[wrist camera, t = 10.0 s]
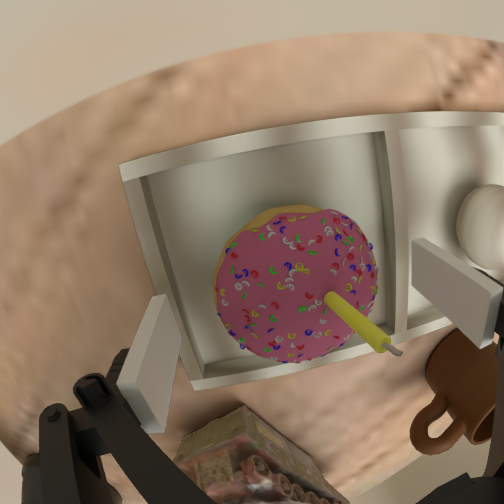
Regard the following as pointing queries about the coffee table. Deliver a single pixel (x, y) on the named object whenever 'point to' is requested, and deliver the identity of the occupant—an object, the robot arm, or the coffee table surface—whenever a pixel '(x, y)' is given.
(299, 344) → the cupcake
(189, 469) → the decorative box
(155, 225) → the divided tray
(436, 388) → the mug
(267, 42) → the coffee table surface
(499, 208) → the wooden egg
